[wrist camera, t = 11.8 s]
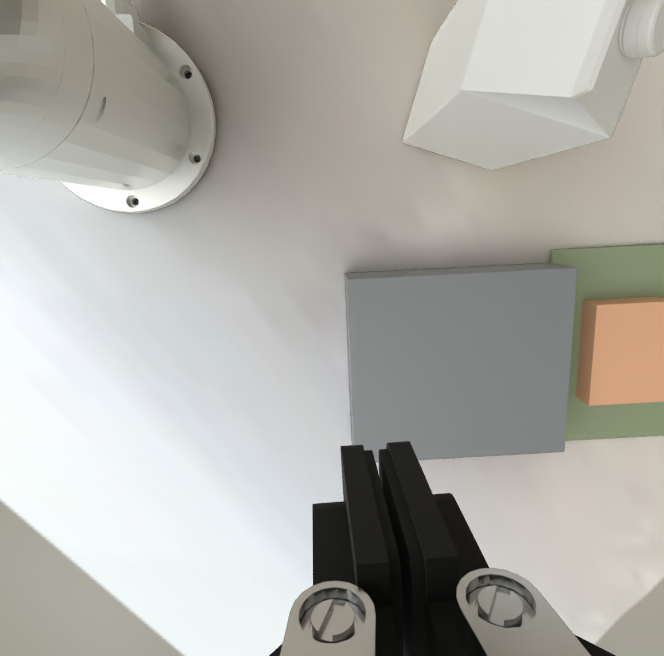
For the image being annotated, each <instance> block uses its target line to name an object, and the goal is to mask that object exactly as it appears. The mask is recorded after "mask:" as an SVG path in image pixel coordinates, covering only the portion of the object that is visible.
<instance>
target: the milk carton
mask: <svg viewBox="0 0 664 656" xmlns="http://www.w3.org/2000/svg"><path fill="white" fill-rule="evenodd" d="M663 50H664V0H458V1H457V2H456V4H455V5H454V7H453V9H452V10H451V12H450V13H449V15H448V16H447V18H446V19H445V21H444V23H443V24H442V26H441V27H440V29H439V30H438V32H437V34H436V35H435V37H434V38H433V40H432V43H431V45H430V49H429V52H428V55H427V59H426V62H425V65H424V69H423V72H422V75H421V79H420V82H419V86H418V89H417V92H416V96H415V99H414V102H413V106H412V109H411V112H410V116H409V119H408V123H407V126H406V129H405V133H404V136H403V143H405V144H409V145H412V146H415V147H418V148H422V149H425V150H428V151H431V152H434V153H438V154H441V155H444V156H447V157H451V158H454V159H457V160H460V161H464V162H467V163H470V164H473V165H477V166H480V167H483V168H486V169H489V170H495V169H499V168H502V167H506V166H510V165H513V164H517V163H521V162H524V161H528V160H532V159H535V158H539V157H543V156H547V155H550V154H554V153H558V152H561V151H565V150H569V149H572V148H576V147H580V146H583V145H587V144H591V143H594V142H598V141H601V140H605V139H608V138H611V136H612V135H613V132H614V130H615V127H616V125H617V122H618V120H619V117H620V115H621V113H622V110H623V108H624V105H625V103H626V100H627V97H628V95H629V92H630V89H631V87H632V84H633V82H634V79H635V76H636V74H637V71H638V69H639V66H640V63H641V61H642V58H643V57H655V56H658V55H659V54H660V53H661V52H662V51H663Z"/></svg>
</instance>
